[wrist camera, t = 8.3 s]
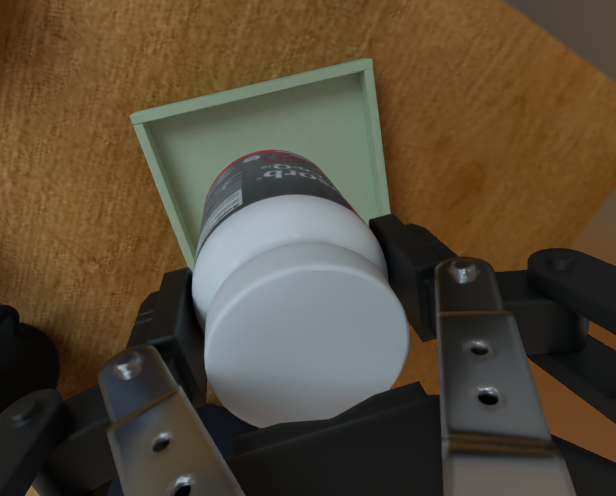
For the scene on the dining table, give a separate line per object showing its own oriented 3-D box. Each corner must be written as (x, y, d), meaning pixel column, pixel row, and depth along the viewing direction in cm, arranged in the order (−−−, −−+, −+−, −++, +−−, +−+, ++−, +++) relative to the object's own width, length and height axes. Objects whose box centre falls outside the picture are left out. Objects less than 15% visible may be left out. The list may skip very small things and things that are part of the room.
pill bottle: (358, 187, 18) (483, 309, 9) (293, 286, 20) (347, 473, 11) (243, 118, 16) (264, 192, 7) (180, 236, 18) (134, 415, 9)
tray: (135, 111, 26) (129, 115, 24) (362, 58, 27) (372, 58, 25) (208, 304, 33) (207, 319, 31) (388, 256, 34) (397, 266, 32)
